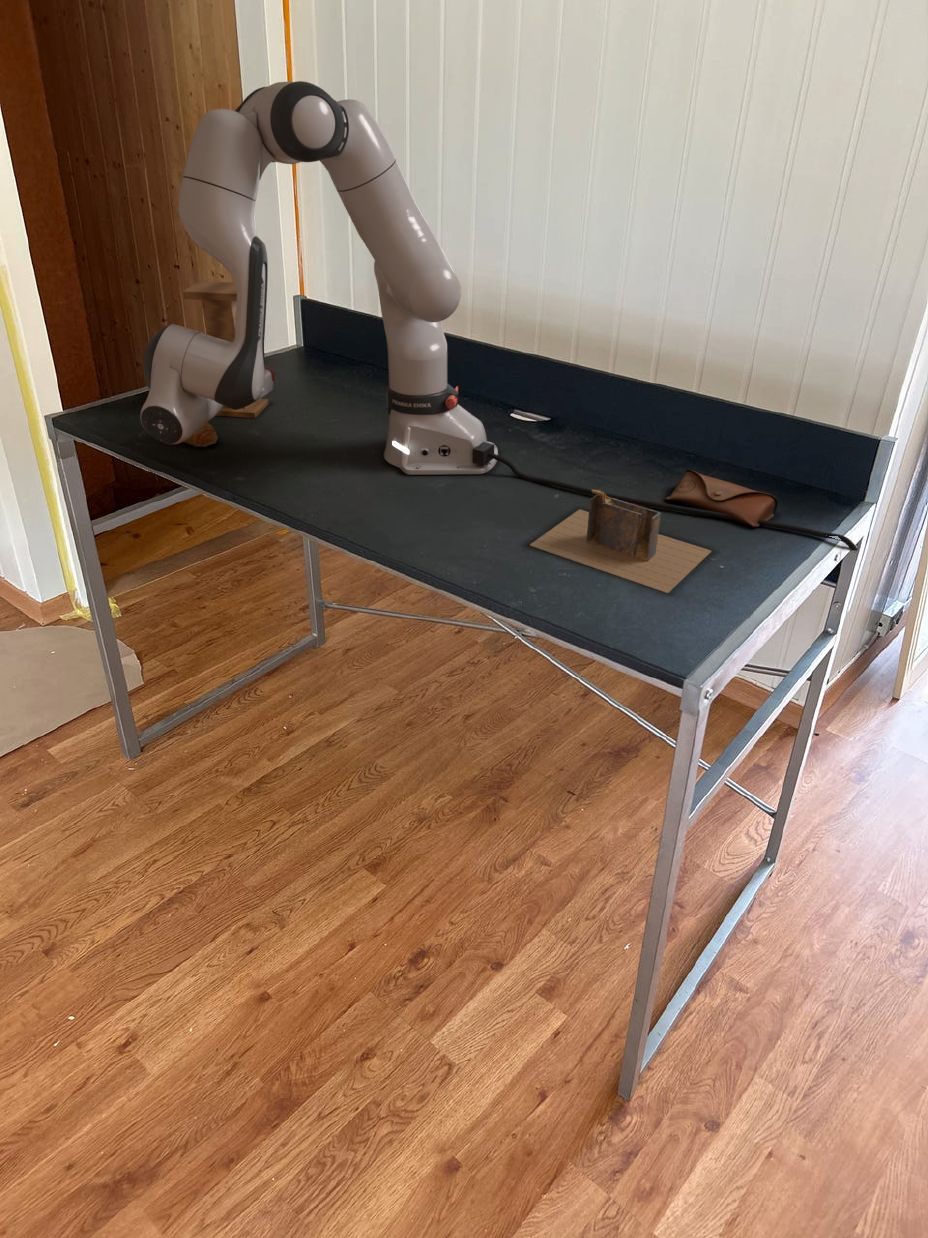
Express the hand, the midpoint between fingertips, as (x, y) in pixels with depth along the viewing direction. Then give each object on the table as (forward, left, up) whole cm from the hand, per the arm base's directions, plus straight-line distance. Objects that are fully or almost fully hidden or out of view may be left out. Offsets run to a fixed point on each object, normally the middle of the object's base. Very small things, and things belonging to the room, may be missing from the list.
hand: (230, 367), depth 170 cm
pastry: (+12, -7, -18) cm, 23 cm away
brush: (0, -3, -4) cm, 5 cm away
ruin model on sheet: (-74, +24, -18) cm, 80 cm away
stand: (+11, -25, -18) cm, 33 cm away
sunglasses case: (-91, +6, -18) cm, 93 cm away
